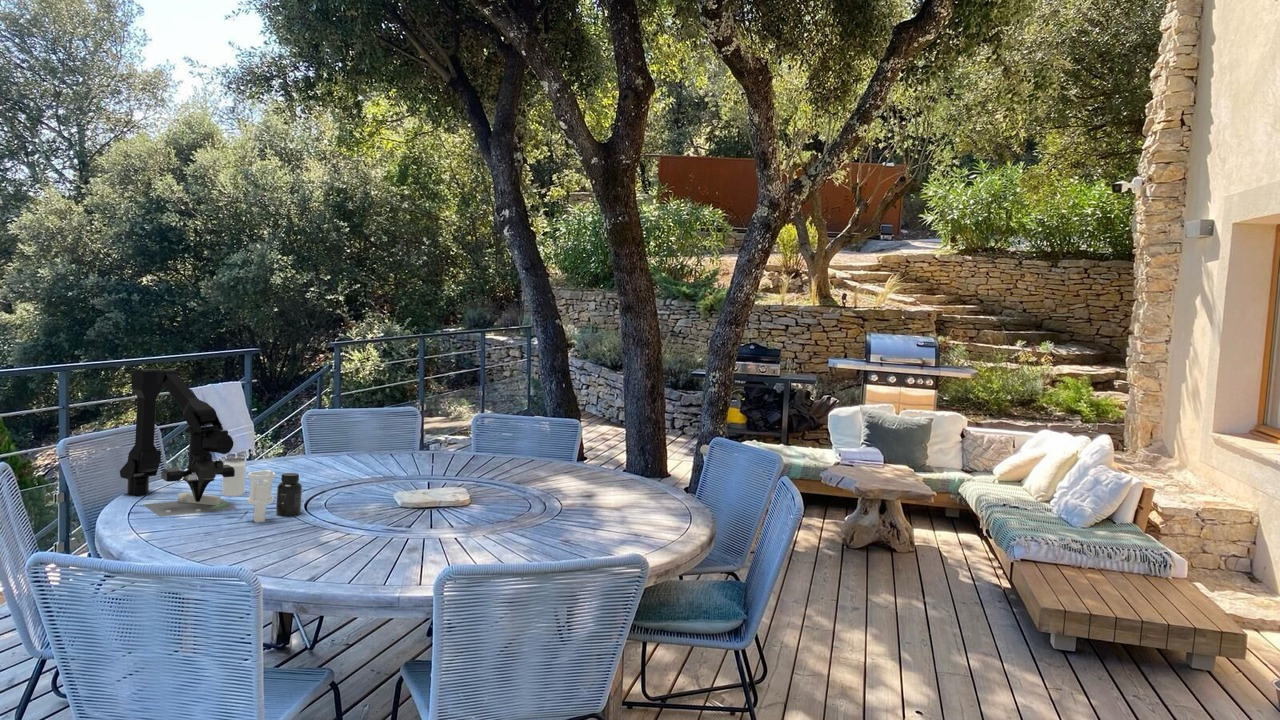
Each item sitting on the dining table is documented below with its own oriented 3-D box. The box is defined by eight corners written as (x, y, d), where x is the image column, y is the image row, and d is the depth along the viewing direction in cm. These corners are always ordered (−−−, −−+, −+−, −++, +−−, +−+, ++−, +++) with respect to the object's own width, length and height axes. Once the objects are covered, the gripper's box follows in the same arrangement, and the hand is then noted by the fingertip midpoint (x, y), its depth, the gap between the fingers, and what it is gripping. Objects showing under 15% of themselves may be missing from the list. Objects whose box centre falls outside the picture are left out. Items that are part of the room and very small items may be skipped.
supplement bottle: (270, 514, 254) (272, 474, 253) (288, 509, 260) (290, 471, 260) (288, 517, 252) (290, 477, 251) (305, 513, 258) (307, 474, 257)
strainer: (259, 525, 242) (262, 472, 241) (240, 521, 244) (242, 469, 243) (278, 520, 248) (280, 469, 247) (259, 516, 251) (261, 466, 250)
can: (235, 500, 268) (237, 462, 267) (217, 497, 269) (219, 460, 268) (248, 495, 274) (250, 459, 273) (231, 493, 275) (232, 456, 275)
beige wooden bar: (175, 502, 255) (175, 494, 255) (182, 499, 258) (182, 492, 258) (215, 506, 254) (215, 498, 254) (221, 503, 257) (221, 496, 257)
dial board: (142, 507, 251) (143, 502, 251) (218, 500, 266) (218, 495, 265) (159, 519, 239) (159, 514, 239) (237, 511, 254) (237, 506, 254)
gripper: (174, 456, 240) (171, 511, 240) (242, 452, 253) (240, 504, 254) (161, 449, 247) (159, 502, 248) (229, 446, 261) (226, 496, 262)
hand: (197, 501), depth 253 cm, fingers closed
